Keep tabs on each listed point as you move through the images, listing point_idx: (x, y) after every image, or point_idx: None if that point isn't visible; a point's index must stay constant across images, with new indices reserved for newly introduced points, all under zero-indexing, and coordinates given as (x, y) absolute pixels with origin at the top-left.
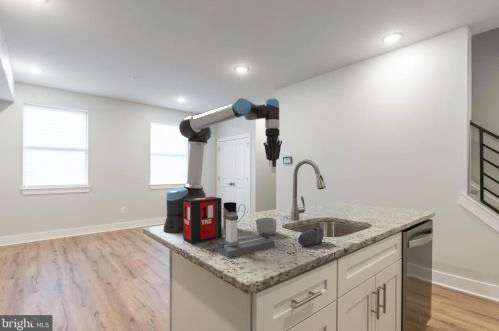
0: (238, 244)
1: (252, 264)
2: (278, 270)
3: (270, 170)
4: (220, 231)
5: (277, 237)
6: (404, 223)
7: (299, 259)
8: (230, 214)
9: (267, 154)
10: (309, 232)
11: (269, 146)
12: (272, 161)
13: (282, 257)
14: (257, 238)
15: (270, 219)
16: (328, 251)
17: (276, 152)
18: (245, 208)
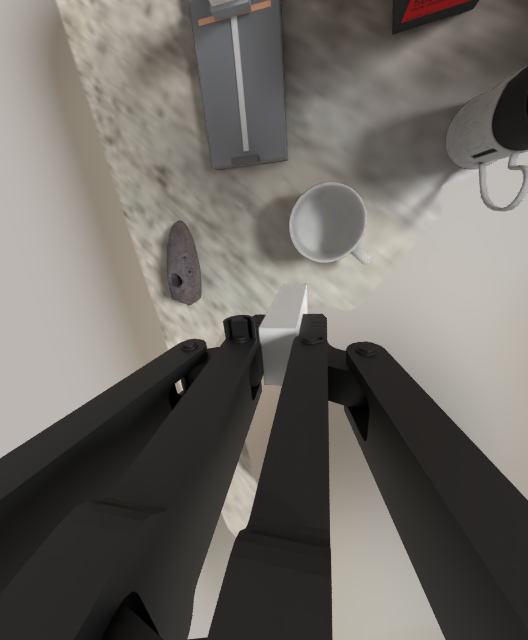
0: (214, 17)
1: (129, 26)
2: (87, 74)
3: (297, 290)
4: (398, 9)
5: (278, 229)
6: (221, 510)
7: (125, 164)
8: None
9: (372, 396)
10: (168, 254)
11: (224, 577)
12: (261, 335)
13: (145, 135)
14: (252, 130)
15: (338, 255)
16: (144, 256)
17: (104, 392)
18: (498, 210)
